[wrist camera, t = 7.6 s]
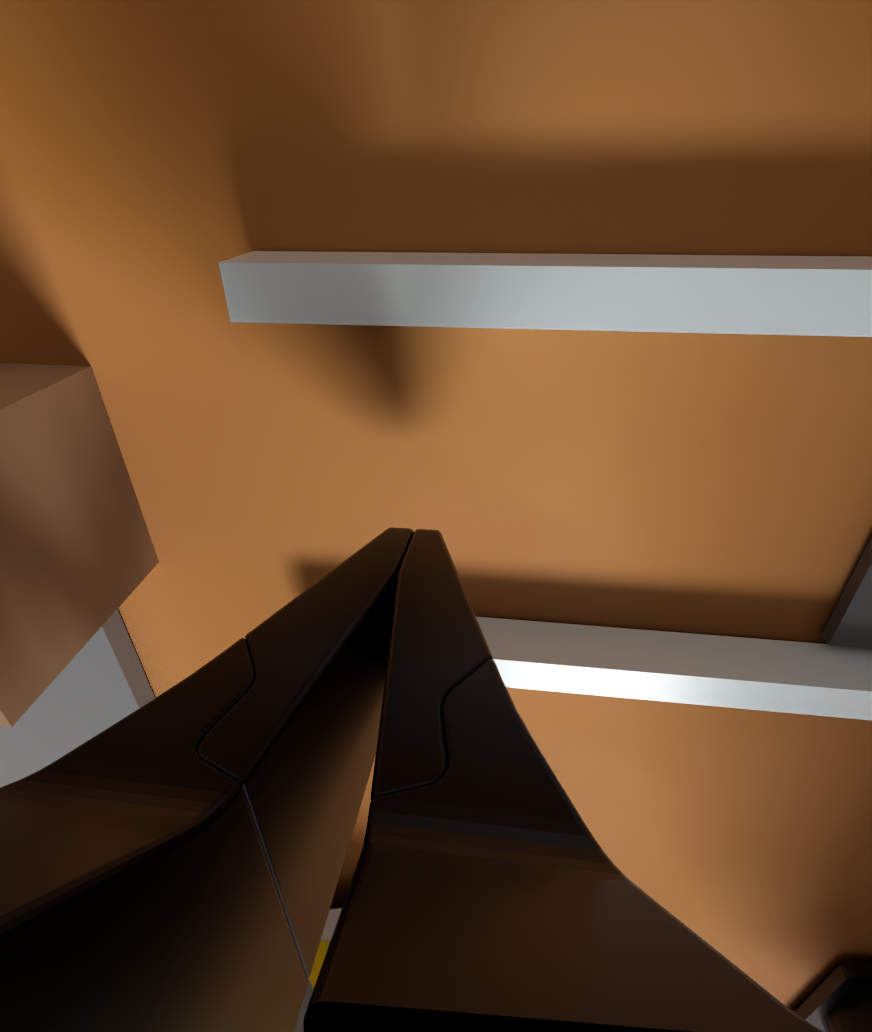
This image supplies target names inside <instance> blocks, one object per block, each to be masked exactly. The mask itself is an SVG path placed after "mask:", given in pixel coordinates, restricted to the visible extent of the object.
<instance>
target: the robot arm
mask: <svg viewBox="0 0 872 1032" xmlns="http://www.w3.org/2000/svg"><path fill="white" fill-rule="evenodd" d="M245 638H246V639H244V638H241V639H240V640H238V641H237V642H236V643H234V644H233V645H232V646H230V647H229V648H228V649H226V650H225V651H224V652H222V653H221V654H220V655H218V656H217V657H215V658H214V659H213V660H211V661H210V662H208V663H207V664H206V665H204V666H203V667H201V668H200V669H199V670H197V671H196V672H194V673H193V674H192V675H190V676H189V677H187V678H186V679H184V680H183V681H181V682H179V683H178V684H176V685H175V686H173V687H172V688H170V689H169V690H167V691H166V692H164V693H163V694H161V695H160V696H158V697H157V698H155V699H153V700H152V701H150V702H149V703H147V704H146V705H144V706H142V707H141V708H139V709H138V710H136V711H134V712H133V713H131V714H130V715H128V716H126V717H125V718H123V719H122V720H120V721H118V722H117V723H115V724H114V725H112V726H110V727H109V728H107V729H106V730H104V731H102V732H101V733H99V734H98V735H96V736H94V737H93V738H91V739H90V740H88V741H87V742H85V743H83V744H82V745H80V746H79V747H77V748H75V749H74V750H72V751H71V752H69V753H67V754H66V755H64V756H63V757H61V758H59V759H58V760H56V761H54V762H53V763H51V764H49V765H48V766H46V767H44V768H42V769H41V770H39V771H37V772H35V773H33V774H31V775H29V776H27V777H25V778H23V779H21V780H18V781H16V782H13V783H11V784H8V785H5V786H3V787H0V1032H294V1029H295V1026H296V1022H297V1019H298V1015H299V1012H300V1009H301V1005H302V1002H303V999H304V995H305V992H306V989H307V985H308V980H307V978H309V977H310V974H311V971H312V968H313V964H314V961H315V957H316V954H317V951H318V947H319V944H320V941H321V937H322V934H323V930H324V927H325V924H326V920H327V917H328V914H329V910H330V907H331V903H332V900H333V897H334V893H335V890H336V887H337V883H338V880H339V876H340V873H341V870H342V866H343V863H344V860H345V856H346V853H347V849H348V846H349V843H350V839H351V836H352V833H353V829H354V826H355V822H356V819H357V816H358V812H359V809H360V806H361V802H362V799H363V796H364V792H365V789H366V785H367V782H368V779H369V775H370V772H371V769H372V765H373V762H374V758H375V766H374V774H373V782H372V790H371V803H370V808H369V815H368V822H367V829H366V834H365V839H364V844H363V849H362V852H361V855H360V858H359V861H358V864H357V867H356V870H355V872H354V875H353V878H352V881H351V884H350V887H349V890H348V892H347V895H346V898H345V901H344V904H343V907H342V910H341V912H340V915H339V918H338V921H337V924H336V927H335V930H334V932H333V935H332V938H331V941H330V944H329V947H328V950H327V952H326V955H325V958H324V961H323V964H322V967H321V970H320V972H319V975H318V978H317V981H316V984H315V987H314V990H313V992H312V995H311V998H310V1001H309V1004H308V1007H307V1010H306V1012H305V1016H304V1022H303V1027H304V1032H872V962H867V961H848V962H844V963H842V964H841V965H839V966H838V968H837V969H836V970H835V971H834V972H833V973H832V974H831V975H830V976H829V977H828V978H827V979H826V980H825V981H824V982H823V983H822V984H821V985H820V986H819V987H818V988H817V989H816V990H815V991H814V992H813V993H812V994H811V995H810V997H809V998H808V999H807V1000H806V1001H805V1002H804V1003H803V1004H802V1005H801V1006H800V1007H799V1008H798V1009H797V1010H796V1011H795V1012H793V1011H792V1010H791V1009H789V1008H788V1007H786V1006H785V1005H784V1004H782V1003H781V1002H780V1001H779V1000H777V999H776V998H775V997H774V996H772V995H771V994H770V993H769V992H767V991H766V990H765V989H764V988H762V987H761V986H760V985H759V984H757V983H756V982H755V981H754V980H753V979H751V978H750V977H749V976H748V975H746V974H745V973H744V972H743V971H741V970H740V969H739V968H738V967H736V966H735V965H734V964H733V963H731V962H730V961H729V960H728V959H727V958H725V957H724V956H723V955H722V954H720V953H719V952H718V951H717V950H715V949H714V948H713V947H712V946H710V945H709V944H708V943H707V942H705V941H704V940H703V939H702V938H701V937H699V936H698V935H697V934H696V933H694V932H693V931H692V930H691V929H689V928H688V927H687V926H686V925H684V924H683V923H682V922H681V921H679V920H678V919H677V918H676V917H674V916H673V915H672V914H671V913H670V912H668V911H667V910H666V909H665V908H663V907H662V906H661V905H660V904H658V903H657V902H656V901H655V900H653V899H652V898H651V897H650V896H648V895H647V894H646V893H645V892H644V891H642V890H641V889H640V888H639V887H637V886H636V885H635V884H634V883H633V882H631V881H630V880H629V879H628V878H627V877H626V876H625V875H624V874H623V873H622V872H621V871H620V870H619V869H618V868H617V867H616V866H615V865H614V864H613V862H612V861H611V860H610V859H609V858H608V856H607V855H606V854H605V853H604V851H603V850H602V848H601V847H600V846H599V844H598V843H597V841H596V840H595V839H594V837H593V836H592V834H591V832H590V831H589V829H588V828H587V826H586V825H585V823H584V822H583V820H582V818H581V817H580V815H579V813H578V812H577V810H576V808H575V807H574V805H573V804H572V802H571V800H570V799H569V797H568V795H567V794H566V792H565V790H564V789H563V787H562V786H561V784H560V782H559V781H558V779H557V777H556V776H555V774H554V772H553V771H552V769H551V768H550V766H549V764H548V763H547V761H546V759H545V758H544V756H543V754H542V753H541V751H540V750H539V748H538V746H537V745H536V743H535V741H534V740H533V738H532V736H531V734H530V733H529V731H528V729H527V727H526V726H525V724H524V722H523V720H522V718H521V717H520V715H519V713H518V711H517V710H516V708H515V706H514V704H513V701H512V699H511V697H510V695H509V693H508V691H507V689H506V686H505V684H504V682H503V680H502V678H501V675H500V673H499V670H498V668H497V666H496V663H495V661H494V660H493V657H492V654H491V652H490V650H489V647H488V645H487V642H486V640H485V638H484V635H483V633H482V630H481V628H480V626H479V623H478V621H477V618H476V616H475V614H474V611H473V609H472V606H471V604H470V602H469V599H468V597H467V594H466V592H465V590H464V587H463V585H462V582H461V580H460V578H459V575H458V573H457V570H456V568H455V566H454V563H453V561H452V558H451V556H450V554H449V551H448V549H447V546H446V544H445V542H444V539H443V537H442V534H441V533H440V531H438V530H424V529H418V530H415V532H414V531H413V530H412V529H407V528H388V529H387V530H385V531H384V532H383V533H381V534H380V535H379V536H377V537H376V538H375V539H373V540H372V541H371V542H369V543H368V544H367V545H365V546H364V547H363V548H361V549H360V550H359V551H357V552H356V553H355V554H353V555H352V556H351V557H349V558H348V559H347V560H345V561H344V562H343V563H341V564H340V565H339V566H337V567H336V568H335V569H333V570H332V571H331V572H329V573H328V574H327V575H325V576H324V577H323V578H321V579H320V580H319V581H317V582H316V583H315V584H313V585H312V586H311V587H309V588H308V589H307V590H305V591H304V592H303V593H301V594H300V595H299V596H297V597H296V598H295V599H293V600H292V601H291V602H289V603H288V604H287V605H285V606H284V607H283V608H281V609H280V610H279V611H277V612H276V613H275V614H273V615H272V616H271V617H269V618H268V619H267V620H265V621H264V622H263V623H261V624H260V625H259V626H257V627H256V628H255V629H253V630H252V631H251V632H249V633H248V634H247V635H246V637H245ZM375 755H376V757H375Z"/></svg>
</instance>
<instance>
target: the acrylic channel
mask: <svg viewBox="0 0 872 1032" xmlns="http://www.w3.org/2000/svg"><path fill="white" fill-rule="evenodd" d="M218 263H219V268H220V273H221V278H222V283H223V287H224V292H225V297H226V302H227V307H228V312H229V317H230V322H247V323H290V324H333V325H376V326H419V327H462V328H505V329H548V330H591V331H634V332H677V333H720V334H763V335H806V336H849V337H872V257H869V256H759V255H648V254H537V253H426V252H315V251H251V252H248V253H245V254H242V255H239V256H236V257H233V258H230V259H227V260H224V261H221V262H218ZM476 618H477V621H478V623H479V626H480V628H481V630H482V633H483V635H484V638H485V640H486V642H487V645H488V647H489V650H490V652H491V654H492V657H493V660H494V661H495V663H496V666H497V668H498V670H499V673H500V675H501V678H502V680H503V682H504V684H505V686H506V687H509V688H520V689H531V690H542V691H553V692H564V693H575V694H586V695H597V696H608V697H619V698H630V699H641V700H652V701H663V702H674V703H685V704H696V705H707V706H718V707H729V708H740V709H751V710H762V711H773V712H784V713H795V714H806V715H817V716H828V717H839V718H850V719H861V720H872V536H871V538H870V540H869V542H868V544H867V546H866V548H865V550H864V552H863V554H862V556H861V558H860V560H859V562H858V564H857V566H856V568H855V570H854V572H853V574H852V575H851V577H850V579H849V581H848V583H847V585H846V587H845V589H844V591H843V593H842V595H841V597H840V599H839V601H838V603H837V605H836V607H835V609H834V611H833V613H832V615H831V617H830V619H829V621H828V623H827V624H826V626H825V628H824V630H823V632H822V634H821V635H822V636H823V638H824V639H825V641H826V642H827V644H821V643H808V642H795V641H782V640H769V639H757V638H744V637H731V636H718V635H705V634H693V633H680V632H667V631H654V630H641V629H629V628H616V627H603V626H590V625H577V624H565V623H552V622H539V621H526V620H513V619H501V618H488V617H476Z"/></svg>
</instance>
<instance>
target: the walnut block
mask: <svg viewBox="0 0 872 1032" xmlns="http://www.w3.org/2000/svg"><path fill="white" fill-rule="evenodd" d="M158 563H159V561H158V558H157V555H156V553H155V550H154V547H153V544H152V541H151V538H150V535H149V532H148V529H147V527H146V524H145V521H144V518H143V515H142V512H141V509H140V506H139V503H138V500H137V498H136V495H135V492H134V489H133V486H132V483H131V480H130V477H129V474H128V471H127V469H126V466H125V463H124V460H123V457H122V454H121V451H120V448H119V445H118V443H117V440H116V437H115V434H114V431H113V428H112V425H111V422H110V419H109V416H108V414H107V411H106V408H105V405H104V402H103V399H102V396H101V393H100V390H99V387H98V385H97V382H96V379H95V376H94V373H93V370H92V367H91V366H74V365H46V364H18V363H0V726H5V727H13V725H14V724H15V723H16V722H17V721H18V720H19V719H20V718H21V717H22V715H23V714H24V713H25V712H26V711H27V710H28V709H29V708H30V706H31V705H32V704H33V703H34V702H35V701H36V700H37V699H38V697H39V696H40V695H41V694H42V693H43V692H44V691H45V690H46V688H47V687H48V686H49V685H50V684H51V683H52V682H53V681H54V679H55V678H56V677H57V676H58V675H59V674H60V673H61V672H62V670H63V669H64V668H65V667H66V666H67V665H68V664H69V663H70V661H71V660H72V659H73V658H74V657H75V656H76V655H77V654H78V652H79V651H80V650H81V649H82V648H83V647H84V646H85V645H86V643H87V642H88V641H89V640H90V639H91V638H92V637H93V636H94V634H95V633H96V632H97V631H98V630H99V629H100V628H101V627H102V625H103V624H104V623H105V622H106V621H107V620H108V619H109V618H110V616H111V615H112V614H113V613H114V612H115V611H116V610H117V609H118V607H119V606H120V605H121V604H122V603H123V602H124V601H125V600H126V598H127V597H128V596H129V595H130V594H131V593H132V592H133V591H134V590H135V588H136V587H137V586H138V585H139V584H140V583H141V582H142V581H143V579H144V578H145V577H146V576H147V575H148V574H149V573H150V572H151V570H152V569H153V568H154V567H155V566H156V565H157V564H158Z"/></svg>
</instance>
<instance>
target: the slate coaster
mask: <svg viewBox="0 0 872 1032" xmlns="http://www.w3.org/2000/svg"><path fill="white" fill-rule="evenodd" d="M153 699H155V697H154V694H153V692H152V689H151V687H150V685H149V682H148V680H147V678H146V675H145V673H144V671H143V668H142V666H141V663H140V661H139V659H138V656H137V654H136V652H135V649H134V647H133V645H132V642H131V640H130V638H129V635H128V633H127V630H126V628H125V626H124V623H123V621H122V619H121V616H120V614H119V612H118V609H117V610H116V611H115V612H114V613H113V614H112V615H111V616H110V618H109V619H108V620H107V621H106V622H105V623H104V624H103V625H102V627H101V628H100V629H99V630H98V631H97V632H96V633H95V634H94V636H93V637H92V638H91V639H90V640H89V641H88V642H87V643H86V645H85V646H84V647H83V648H82V649H81V650H80V651H79V652H78V654H77V655H76V656H75V657H74V658H73V659H72V660H71V661H70V663H69V664H68V665H67V666H66V667H65V668H64V669H63V670H62V672H61V673H60V674H59V675H58V676H57V677H56V678H55V679H54V681H53V682H52V683H51V684H50V685H49V686H48V687H47V688H46V690H45V691H44V692H43V693H42V694H41V695H40V696H39V697H38V699H37V700H36V701H35V702H34V703H33V704H32V705H31V706H30V708H29V709H28V710H27V711H26V712H25V713H24V714H23V715H22V717H21V718H20V719H19V720H18V721H17V722H16V723H15V724H14V725H13V727H5V726H0V787H3V786H5V785H8V784H11V783H13V782H16V781H18V780H21V779H23V778H25V777H27V776H29V775H31V774H33V773H35V772H37V771H39V770H41V769H42V768H44V767H46V766H48V765H49V764H51V763H53V762H54V761H56V760H58V759H59V758H61V757H63V756H64V755H66V754H67V753H69V752H71V751H72V750H74V749H75V748H77V747H79V746H80V745H82V744H83V743H85V742H87V741H88V740H90V739H91V738H93V737H94V736H96V735H98V734H99V733H101V732H102V731H104V730H106V729H107V728H109V727H110V726H112V725H114V724H115V723H117V722H118V721H120V720H122V719H123V718H125V717H126V716H128V715H130V714H131V713H133V712H134V711H136V710H138V709H139V708H141V707H142V706H144V705H146V704H147V703H149V702H150V701H152V700H153Z"/></svg>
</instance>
